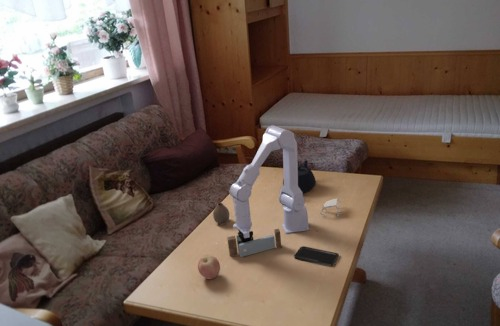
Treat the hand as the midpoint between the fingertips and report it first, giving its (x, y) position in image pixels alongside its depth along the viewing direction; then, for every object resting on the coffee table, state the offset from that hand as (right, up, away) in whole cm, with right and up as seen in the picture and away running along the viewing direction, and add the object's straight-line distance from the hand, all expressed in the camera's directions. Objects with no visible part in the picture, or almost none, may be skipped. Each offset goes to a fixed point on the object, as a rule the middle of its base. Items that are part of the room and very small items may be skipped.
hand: (246, 244), depth 176 cm
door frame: (+4, -2, -1) cm, 4 cm away
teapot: (+26, +19, +45) cm, 56 cm away
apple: (-12, -9, -14) cm, 21 cm away
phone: (+26, -3, -9) cm, 27 cm away
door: (+4, -2, -3) cm, 6 cm away
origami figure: (+37, +10, +21) cm, 44 cm away
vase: (-10, +6, +22) cm, 25 cm away
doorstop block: (0, -2, +1) cm, 2 cm away
